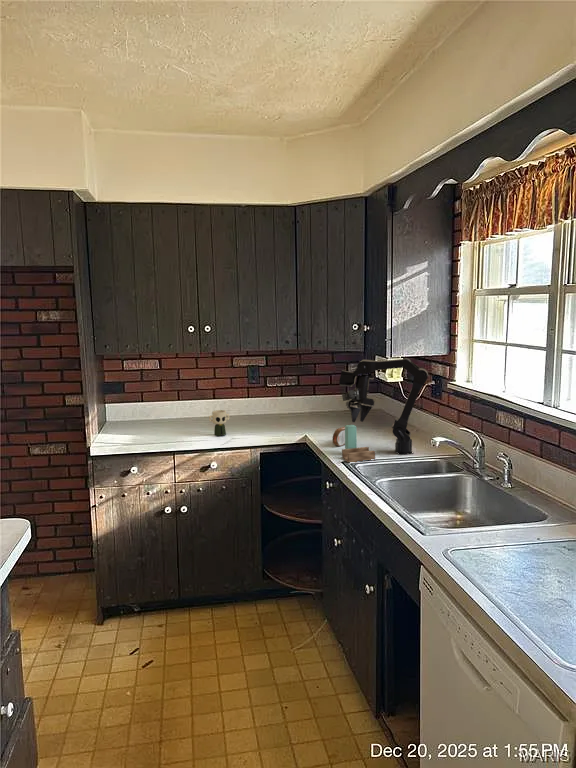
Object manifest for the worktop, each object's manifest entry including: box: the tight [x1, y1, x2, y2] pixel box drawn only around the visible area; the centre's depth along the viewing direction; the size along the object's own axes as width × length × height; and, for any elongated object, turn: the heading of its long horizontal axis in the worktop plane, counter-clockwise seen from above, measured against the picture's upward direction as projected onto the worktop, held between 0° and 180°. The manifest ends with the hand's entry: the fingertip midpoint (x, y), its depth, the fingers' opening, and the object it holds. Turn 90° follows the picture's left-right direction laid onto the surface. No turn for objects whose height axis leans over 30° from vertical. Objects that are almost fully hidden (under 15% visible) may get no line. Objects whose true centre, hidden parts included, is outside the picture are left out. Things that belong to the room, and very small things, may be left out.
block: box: [344, 424, 358, 449], centre depth 258 cm, size 4×4×13 cm
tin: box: [332, 426, 345, 447], centre depth 275 cm, size 15×3×8 cm, turn 141°
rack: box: [341, 446, 376, 463], centre depth 250 cm, size 12×8×4 cm
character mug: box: [208, 409, 230, 437], centre depth 301 cm, size 11×7×13 cm, turn 112°
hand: (357, 421), depth 255 cm, fingers open, 9 cm apart
